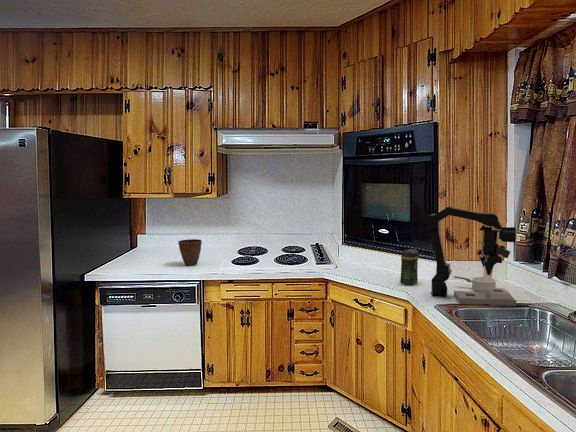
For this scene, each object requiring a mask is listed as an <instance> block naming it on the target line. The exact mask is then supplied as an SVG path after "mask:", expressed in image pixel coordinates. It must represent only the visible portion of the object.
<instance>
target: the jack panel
mask: <svg viewBox="0 0 576 432" xmlns="http://www.w3.org/2000/svg"><path fill="white" fill-rule="evenodd" d="M453 297H454V298H455V299H456V302H457V303H458V304H466V305H483V304H489V305H490V306H503V305H509V306H508V307H512V306H513V307H516V306H517V299H515V298H514V297H513V296H512V293H510V292H509V291H508V290H507V289H505V288H503V287H495V288H486V292H478V291H465V290H453ZM489 305H488V306H489Z"/></svg>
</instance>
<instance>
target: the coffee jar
mask: <svg viewBox="0 0 576 432" xmlns="http://www.w3.org/2000/svg"><path fill="white" fill-rule="evenodd" d="M400 256H401V257H400V259H401V261H400V262H401V265H400V266H401V267H400V268H401V269H400V279H399V282H400V284H402V285H404V286H414V285H416V284H418V282H419V280H418V279H419V277H418V276H419V275H418V268H419V267H418V264H419V263H418V262H419V251H418V250H417V249H413V248H408V249H406V250H402V251H401V254H400Z"/></svg>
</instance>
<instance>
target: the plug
mask: <svg viewBox="0 0 576 432" xmlns="http://www.w3.org/2000/svg"><path fill="white" fill-rule="evenodd" d="M493 271H494V268H493V269H492V272H491V274H490V275H487V272H486V268H485V266H484V268H483V273H482V275H483V276H482V277H483V281H484V282H488V283H492V279H493Z"/></svg>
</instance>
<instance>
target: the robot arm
mask: <svg viewBox="0 0 576 432" xmlns="http://www.w3.org/2000/svg"><path fill="white" fill-rule="evenodd" d="M448 216H450V217H451V216H452V217H456V218H457V217H458V218H461V219H467V220H471V221H475V222H478V223H480V224H482V226H481V227H479V229H478V230H479V231H483V235H482V236H483V237H482V241H481V244H482V248H478V249H477V250H476V255H477V256H479V260H480V263H481V265H482V268H483V269H484V266H485V268H486V272H487V275H490V274H491V272H492V269H493V270H494V266H495V265H496V264H503V257H504V258H507V259H508V258H509V256H510V254H511V251H510V250H508V249H506V247H505V246H504V245H502V244H500V245H499V244H498V240H500V241H501V242H504V243H514V244H515V243H516V239H517V234H516V227H515V226H509V227H507V226H503V225H502V223H501V222H500V221H499V217H498V215H497V213H494V212H478V211H477V212H476V211H473V210H469V209H468V210H467V209H463V208H462V209H461V208H458V207H453V206H449V205H448V206H446V207H445V208H444V209H442V210H440V211H439V212H437V213H431V214H430V215H428V216H427V217H426V218H425V224H426V226H427V228H428V231H429V233H430V234H431V241H432V246H433V250H434V256H435V259H436V261H435V262H436V271H435V273H436V274H434V276H432V278H431V288H430V289H431V291H430V294H431V297H436V298H437V297H438V298H439V297H441V298H447V295H448V286H447V283H446V282H447V281H448V280H449V279H450V277H451V273H452V272H453V271H452V268H451V263H448V262H447V261H446V257H445V256H446V255H445V252H444V247H443V241H442V235H441V221H442V220H444V219H445V218H448ZM501 256H502V257H501Z"/></svg>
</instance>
